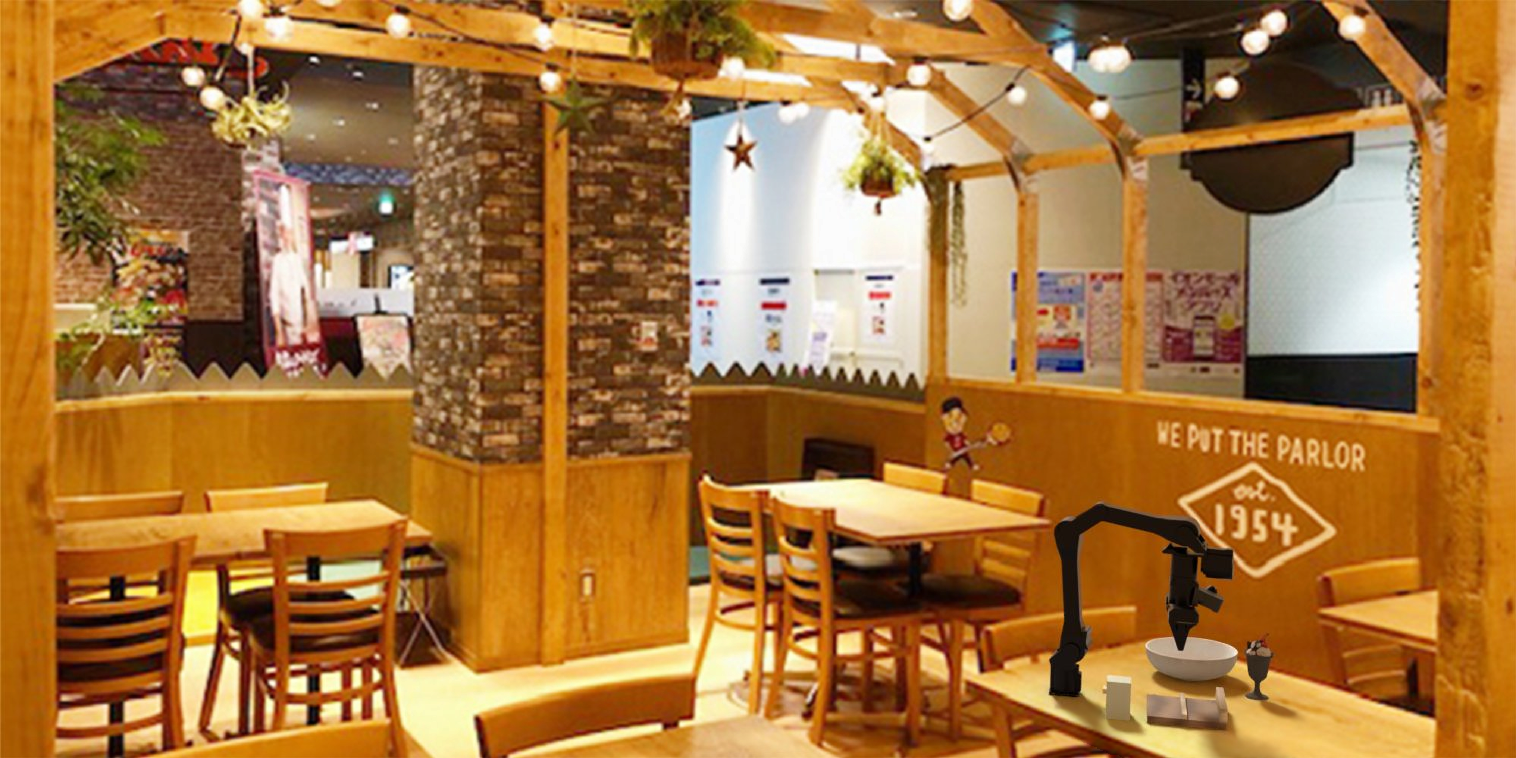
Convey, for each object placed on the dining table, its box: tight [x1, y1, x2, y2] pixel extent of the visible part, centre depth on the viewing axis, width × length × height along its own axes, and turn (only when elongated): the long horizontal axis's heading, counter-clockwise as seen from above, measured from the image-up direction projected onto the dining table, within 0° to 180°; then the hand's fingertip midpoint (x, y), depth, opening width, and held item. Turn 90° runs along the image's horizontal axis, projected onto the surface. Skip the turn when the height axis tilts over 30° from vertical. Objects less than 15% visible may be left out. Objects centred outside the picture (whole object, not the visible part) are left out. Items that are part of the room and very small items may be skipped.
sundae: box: [1242, 632, 1275, 701], centre depth 308 cm, size 7×7×15 cm
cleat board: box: [1146, 686, 1229, 731], centre depth 295 cm, size 16×16×4 cm
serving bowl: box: [1144, 636, 1239, 682], centre depth 325 cm, size 21×21×7 cm
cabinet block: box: [1102, 674, 1132, 721], centre depth 294 cm, size 6×5×8 cm
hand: (1179, 645), depth 300 cm, fingers open, 9 cm apart
